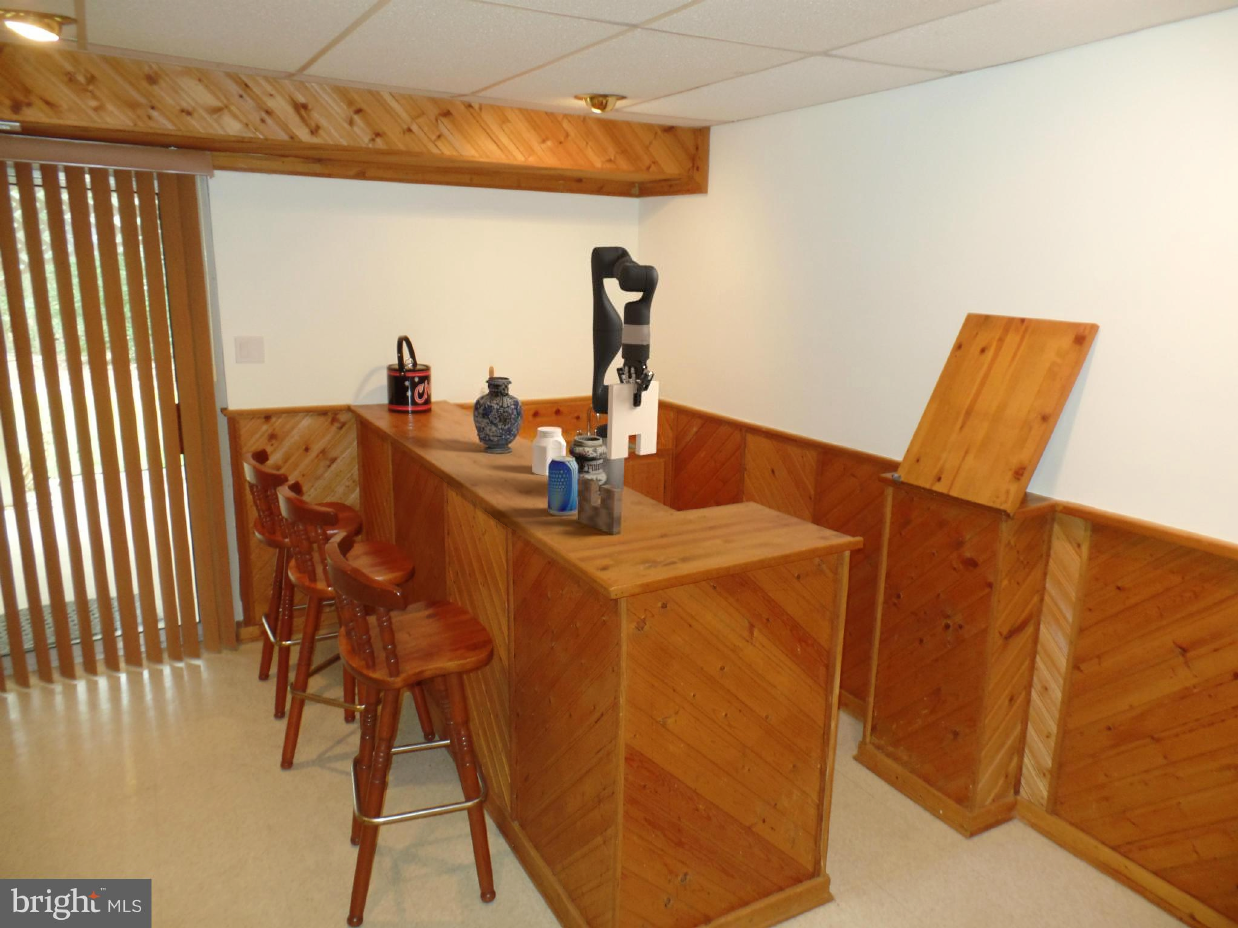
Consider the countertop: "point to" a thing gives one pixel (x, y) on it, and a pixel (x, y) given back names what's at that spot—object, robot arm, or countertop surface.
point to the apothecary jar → (589, 457)
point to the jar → (547, 448)
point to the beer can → (562, 485)
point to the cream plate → (631, 420)
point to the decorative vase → (497, 416)
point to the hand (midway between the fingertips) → (633, 405)
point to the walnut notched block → (599, 505)
